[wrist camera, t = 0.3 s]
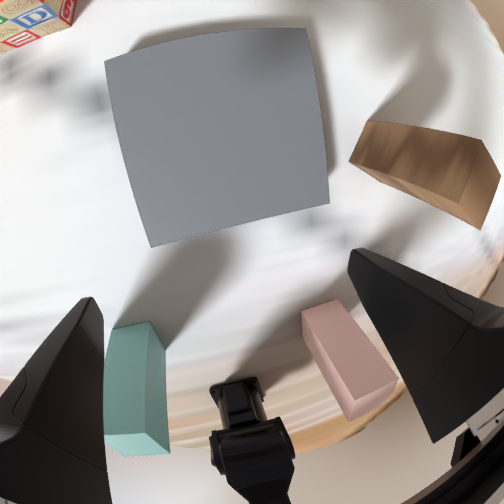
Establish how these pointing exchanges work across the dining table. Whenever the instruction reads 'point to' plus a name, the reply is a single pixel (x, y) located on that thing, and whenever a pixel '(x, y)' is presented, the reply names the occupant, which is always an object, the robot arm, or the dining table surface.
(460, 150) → the walnut block
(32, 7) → the stack of blocks
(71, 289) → the dining table surface
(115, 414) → the muted teal block
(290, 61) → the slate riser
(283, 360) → the dining table surface
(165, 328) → the dining table surface
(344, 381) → the dusty pink block
